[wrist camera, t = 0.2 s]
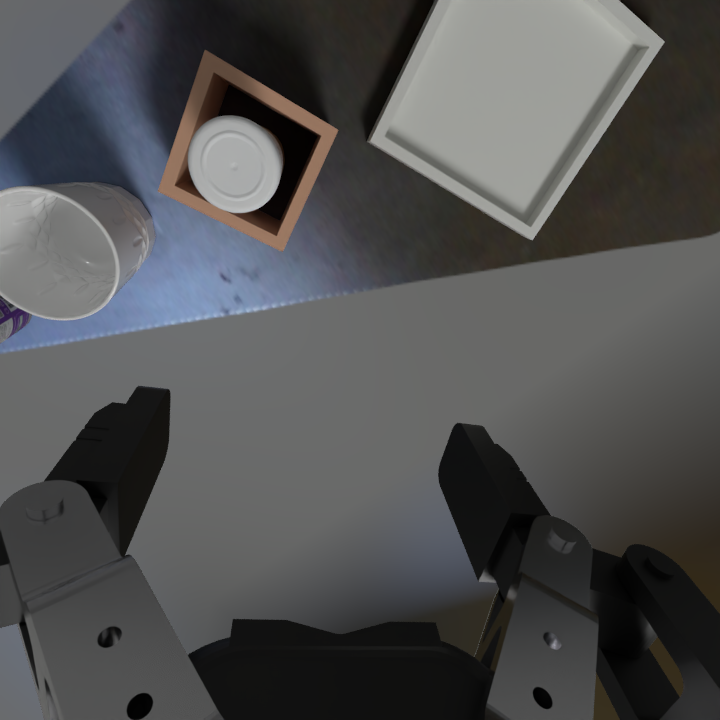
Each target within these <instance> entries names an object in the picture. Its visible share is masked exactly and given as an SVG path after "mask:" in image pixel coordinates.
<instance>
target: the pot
mask: <svg viewBox="0 0 720 720" xmlns="http://www.w3.org/2000/svg"><path fill="white" fill-rule="evenodd" d="M229 85H231V86H233V87H234V88H236V89H238V90H240V91H241V92H243V93H245V94H246V95H248V96H250V97H251V98H253V99H255V100H257V101H258V102H260V103H262V104H263V105H265V106H267V107H268V108H270V109H272V110H274V111H275V112H277V113H279V114H280V115H282V116H284V117H285V118H287V119H289V120H290V121H292V122H294V123H296V124H297V125H299V126H301V127H302V128H304V129H306V130H307V131H309V132H311V133H313V134H314V135H316V136H317V139H316V141H315V143H314V145H313V148H312V150H311V152H310V154H309V157H308V159H307V161H306V163H305V166H304V168H303V170H302V172H301V175H300V177H299V179H298V181H297V184H296V186H295V188H294V190H293V193H292V195H291V197H290V199H289V202H288V204H287V206H286V208H285V211H284V213H283V215H282V217H281V220H278V219H276V218H274V217H272V216H270V215H268V214H266V213H264V212H262V211H260V210H258V209H256V210H254V211H250V212H246V213H232V212H228V211H224V210H222V209H219V208H218V207H216V206H214V205H212V204H211V203H210V202H209V201H207V200H206V199H205V198H204V197H203V196H202V195H201V194H200V192H199V191H198V189H197V188H196V186H195V185H194V183H193V180H192V178H191V175H190V172H189V167H188V150H189V146H190V143H191V140H192V138H193V136H194V134H195V133H196V131H197V130H198V129H199V128H200V127H201V126H202V125H203V124H204V123H206V122H207V121H209V120H211V119H213V118H216V117H217V116H218V114H219V111H220V108H221V105H222V102H223V100H224V97H225V94H226V91H227V89H228V86H229ZM337 132H338V130H337V129H336V128H334V127H333V126H331V125H329V124H328V123H326V122H324V121H323V120H321V119H319V118H318V117H316V116H314V115H313V114H311V113H309V112H308V111H306V110H304V109H303V108H301V107H299V106H298V105H296V104H294V103H293V102H291V101H289V100H288V99H286V98H284V97H283V96H281V95H279V94H278V93H276V92H275V91H273V90H271V89H270V88H268V87H266V86H265V85H263V84H261V83H260V82H258V81H256V80H255V79H253V78H251V77H250V76H248V75H246V74H245V73H243V72H241V71H240V70H238V69H236V68H235V67H233V66H231V65H230V64H228V63H226V62H225V61H223V60H221V59H220V58H218V57H217V56H215V55H213V54H212V53H210V52H208V51H207V50H205V51H204V54H203V57H202V60H201V63H200V66H199V69H198V72H197V75H196V78H195V81H194V84H193V87H192V90H191V93H190V96H189V99H188V102H187V105H186V108H185V111H184V114H183V117H182V120H181V123H180V126H179V129H178V132H177V135H176V138H175V141H174V144H173V147H172V150H171V153H170V156H169V159H168V162H167V165H166V168H165V171H164V174H163V177H162V180H161V183H160V186H159V189H158V192H160V193H162V194H164V195H166V196H168V197H171V198H173V199H175V200H177V201H179V202H181V203H183V204H185V205H187V206H189V207H191V208H193V209H195V210H197V211H199V212H201V213H204V214H206V215H208V216H210V217H212V218H214V219H216V220H218V221H220V222H222V223H224V224H226V225H228V226H230V227H232V228H234V229H236V230H239V231H241V232H243V233H245V234H247V235H249V236H251V237H253V238H255V239H257V240H259V241H261V242H263V243H265V244H267V245H269V246H271V247H274V248H276V249H278V250H280V251H282V252H283V250H284V248H285V246H286V244H287V241H288V239H289V237H290V235H291V233H292V230H293V228H294V226H295V224H296V222H297V219H298V217H299V215H300V213H301V211H302V209H303V206H304V204H305V202H306V200H307V198H308V195H309V193H310V191H311V189H312V187H313V185H314V182H315V180H316V178H317V176H318V174H319V171H320V169H321V167H322V165H323V163H324V160H325V158H326V156H327V154H328V152H329V150H330V147H331V145H332V143H333V141H334V139H335V136H336V134H337Z"/></svg>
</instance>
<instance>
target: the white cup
mask: <svg viewBox="0 0 720 720" xmlns="http://www.w3.org/2000/svg"><path fill="white" fill-rule="evenodd" d="M155 238H156V236H155V231H154V226H153V221H152V217H151V216H150V214H149V213H148V211H147V210H146V208H145V207H144V205H143V204H142V202H141V201H140V200H139V199H138V198H137V197H135V196H134V195H132V194H131V193H129V192H128V191H126V190H125V189H123V188H122V187H120V186H116V185H111V184H107V183H102V182H91V183H87V182H72V183H53V184H43V185H31V186H18V187H12V188H7V189H4V190H1V191H0V296H2V297H3V298H4V299H5V300H7V301H8V302H10V303H11V304H13V305H14V306H16V307H18V308H19V309H21V310H23V311H25V312H28V313H30V314H33V315H35V316H39V317H42V318H46V319H52V320H75V319H80V318H84V317H87V316H90V315H92V314H94V313H96V312H97V311H99V310H100V309H102V308H103V307H104V306H105V305H106V304H107V303H108V302H109V301H110V300H111V299H112V298H113V297H114V296H115V295H116V294H117V292H118V291H119V290H120V289H121V288H122V287H123V286H124V285H125V284H126V283H127V282H128V281H129V280H130V279H131V278H132V277H133V275H134V274H135V273H136V272H137V271H138V270H139V268H140V267H141V265H142V263H143V262H144V261H145V260H146V259H147V258H148V257H149V256H150V255H151V252H152V248H153V245H154V241H155Z"/></svg>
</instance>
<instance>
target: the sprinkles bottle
mask: <svg viewBox="0 0 720 720" xmlns="http://www.w3.org/2000/svg"><path fill="white" fill-rule="evenodd" d="M284 165H285V156H284V149H283V147H282V144H281V142H280V141H279V139H278V138H277V136H276V135H274V134H273V133H272V132H271V131H270V130H269V129H267V128H265V127H263V126H260V125H258V124H256V123H255V122H253V121H251V120H249V119H246V118H244V117H240V116H233V115H228V116H219V117H216V118H213V119H211V120H209V121H207V122H206V123H204V124H203V125H202V126H201V127H200V128H199V129H198V130H197V131H196V133H195V134H194V136H193V138H192V140H191V143H190V146H189V150H188V167H189V172H190V175H191V178H192V180H193V183H194V185H195V186H196V188H197V189H198V191H199V192H200V194H201V195H202V196H203V197H204V198H205V199H206V200H207V201H209V202H210V203H211V204H212V205H214V206H216V207H218V208H219V209H222V210H224V211H228V212H232V213H246V212H250V211H254V210H256V209H258V208H260V207H262V206H263V205H264V204H266V203H267V202H268V201H269V200H270V199H271V197H272V196H273V195H274V193H275V191H276V189H277V187H278V185H279V182H280V178H281V174H282V172H283V170H284Z"/></svg>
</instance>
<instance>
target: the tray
mask: <svg viewBox="0 0 720 720" xmlns="http://www.w3.org/2000/svg"><path fill="white" fill-rule="evenodd" d="M663 43H664V41H663V40H662V39H661V38H660V37H659V36H658V35H657V34H656V33H654V32H653V31H652V30H651V29H650V28H649V27H648V26H647V25H646V24H644V23H643V22H642V21H641V20H640V19H639V18H638V17H637V16H636V15H635V14H633V13H632V12H631V11H630V10H629V9H628V8H627V7H626V6H625V5H624V4H622V3H621V2H620V1H619V0H435V1H434V3H433V5H432V7H431V9H430V11H429V13H428V15H427V17H426V19H425V21H424V24H423V26H422V28H421V30H420V32H419V34H418V36H417V38H416V40H415V42H414V44H413V46H412V48H411V50H410V52H409V55H408V57H407V59H406V61H405V63H404V65H403V67H402V69H401V71H400V73H399V75H398V77H397V79H396V81H395V83H394V86H393V88H392V90H391V92H390V94H389V96H388V98H387V100H386V102H385V104H384V106H383V108H382V110H381V112H380V115H379V117H378V119H377V121H376V123H375V125H374V127H373V129H372V131H371V133H370V135H369V137H368V139H367V142H369V143H370V144H372V145H374V146H375V147H377V148H378V149H380V150H382V151H383V152H385V153H387V154H388V155H390V156H392V157H393V158H395V159H397V160H398V161H400V162H401V163H403V164H405V165H406V166H408V167H410V168H411V169H413V170H415V171H416V172H418V173H420V174H421V175H423V176H424V177H426V178H428V179H429V180H431V181H433V182H434V183H436V184H438V185H439V186H441V187H443V188H444V189H446V190H448V191H449V192H451V193H452V194H454V195H456V196H457V197H459V198H461V199H462V200H464V201H466V202H467V203H469V204H471V205H472V206H474V207H475V208H477V209H479V210H480V211H482V212H484V213H485V214H487V215H489V216H490V217H492V218H494V219H495V220H497V221H498V222H500V223H502V224H503V225H505V226H507V227H508V228H510V229H512V230H513V231H515V232H517V233H518V234H520V235H522V236H523V237H526V238H528V239H530V240H533V239H534V237H535V236H536V234H537V233H538V231H539V230H540V228H541V227H542V225H543V224H544V222H545V221H546V219H547V218H548V216H549V215H550V213H551V212H552V210H553V209H554V207H555V206H556V204H557V203H558V201H559V200H560V198H561V197H562V195H563V194H564V192H565V191H566V189H567V188H568V186H569V185H570V183H571V182H572V180H573V179H574V177H575V176H576V174H577V173H578V171H579V170H580V168H581V167H582V165H583V164H584V162H585V161H586V159H587V158H588V156H589V155H590V153H591V152H592V150H593V149H594V147H595V146H596V144H597V143H598V141H599V140H600V138H601V137H602V135H603V134H604V132H605V131H606V129H607V128H608V126H609V125H610V123H611V121H612V120H613V118H614V117H615V115H616V114H617V112H618V111H619V109H620V108H621V106H622V105H623V103H624V102H625V100H626V99H627V97H628V96H629V94H630V93H631V91H632V90H633V88H634V87H635V85H636V84H637V82H638V81H639V79H640V78H641V76H642V75H643V73H644V72H645V70H646V69H647V67H648V66H649V64H650V63H651V61H652V60H653V58H654V57H655V55H656V54H657V52H658V51H659V49H660V48H661V46H662V45H663Z"/></svg>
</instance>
